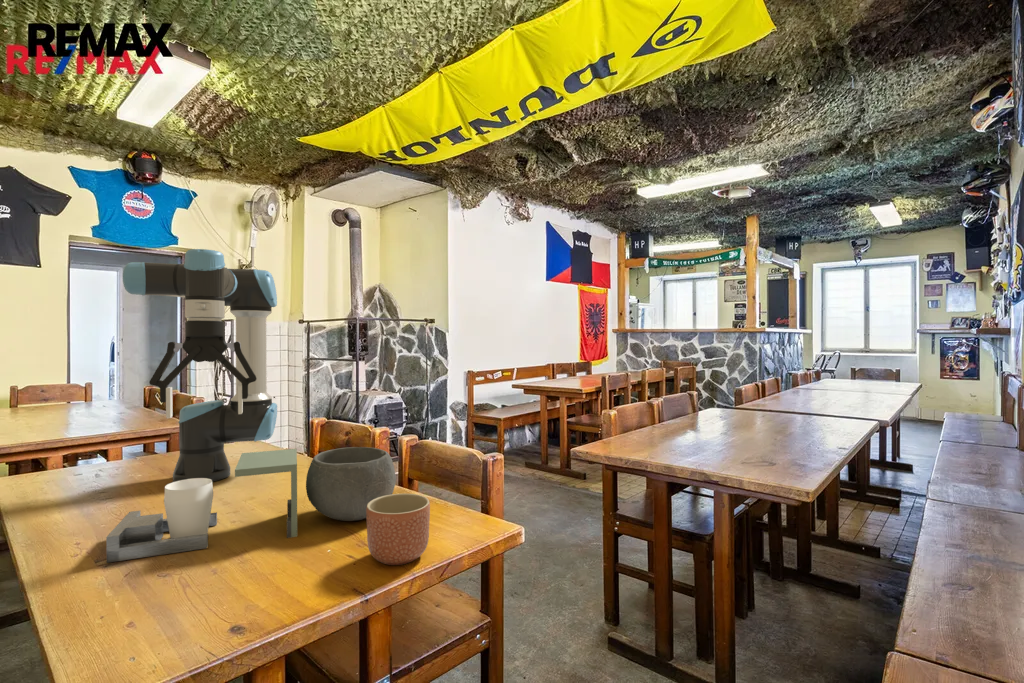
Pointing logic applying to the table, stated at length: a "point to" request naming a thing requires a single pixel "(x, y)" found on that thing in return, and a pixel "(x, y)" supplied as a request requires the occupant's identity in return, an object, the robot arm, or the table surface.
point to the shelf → (274, 464)
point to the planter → (398, 527)
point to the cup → (188, 506)
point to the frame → (149, 538)
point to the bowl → (349, 481)
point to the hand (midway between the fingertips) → (205, 415)
